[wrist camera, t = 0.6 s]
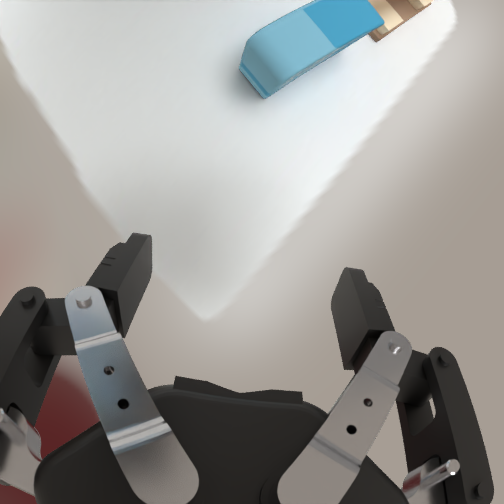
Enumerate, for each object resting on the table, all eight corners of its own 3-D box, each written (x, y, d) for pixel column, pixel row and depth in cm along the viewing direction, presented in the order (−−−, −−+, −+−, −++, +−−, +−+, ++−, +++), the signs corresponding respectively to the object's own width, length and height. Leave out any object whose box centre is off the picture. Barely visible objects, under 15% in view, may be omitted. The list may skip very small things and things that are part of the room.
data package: (262, 101, 31) (284, 81, 20) (237, 71, 30) (246, 37, 19) (342, 50, 30) (392, 19, 18) (319, 21, 28) (359, -20, 17)
